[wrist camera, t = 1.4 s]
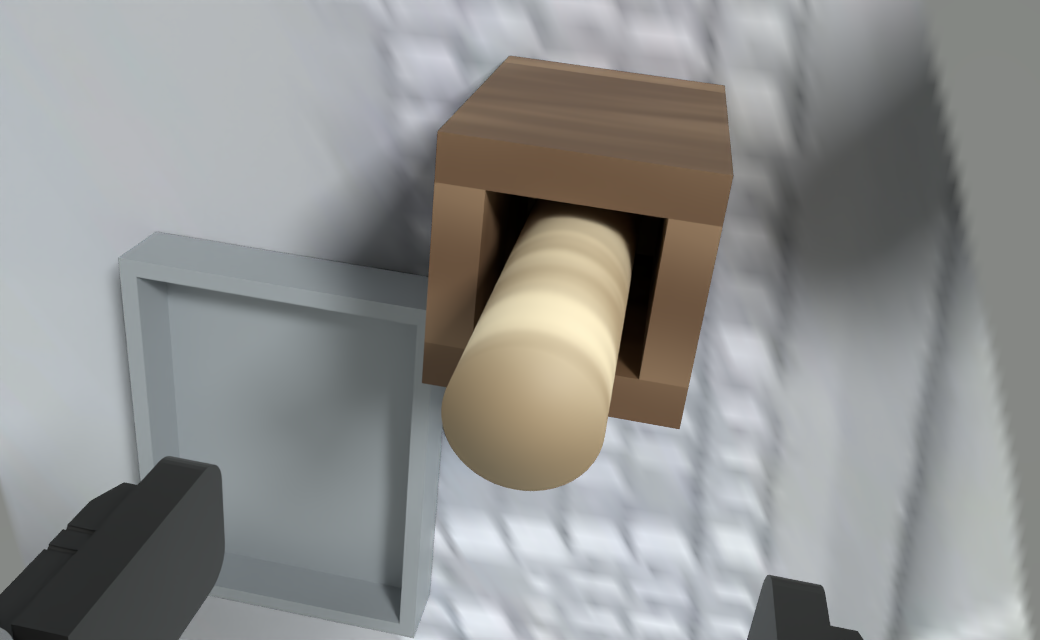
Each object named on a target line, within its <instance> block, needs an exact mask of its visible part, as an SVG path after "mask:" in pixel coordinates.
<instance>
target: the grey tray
mask: <svg viewBox="0 0 1040 640" xmlns="http://www.w3.org/2000/svg"><path fill="white" fill-rule="evenodd" d="M118 261H119V271H120V281H121V292H122V302H123V312H124V322H125V332H126V342H127V352H128V362H129V372H130V382H131V392H132V402H133V412H134V422H135V432H136V442H137V452H138V462H139V473H140V482H141V481H142V480H143V479H144V477H145V476H146V475H147V474H148V473H149V472H150V471H151V470H152V469H153V468H154V466H155V465H156V464H157V463H158V462H159V461H160V460H161V459H162V458H164V457H166V456H173V457H178V458H183V459H189V460H194V461H199V462H204V463H209V464H214V465H217V466H218V467H219V469H220V471H221V475H222V490H223V512H224V533H225V553H224V560H223V564H222V568H221V571H220V574H219V577H218V579H217V581H216V583H215V585H214V587H213V589H212V590H211V592H210V593H209V596H214V597H218V598H223V599H228V600H233V601H238V602H242V603H247V604H252V605H257V606H262V607H266V608H271V609H276V610H281V611H286V612H290V613H295V614H300V615H305V616H310V617H314V618H319V619H324V620H329V621H334V622H338V623H343V624H348V625H353V626H358V627H362V628H367V629H372V630H377V631H382V632H386V633H391V634H396V635H401V636H406V637H410V638H414V636H415V633H416V631H417V628H418V625H419V622H420V620H421V617H422V614H423V612H424V609H425V606H426V603H427V601H428V598H429V595H430V586H431V573H432V560H433V547H434V534H435V521H436V508H437V495H438V481H439V468H440V455H441V442H442V429H443V425H442V418H441V407H442V400H443V396H444V393H445V390H446V387H441V386H435V385H429V384H424V383H422V371H423V355H424V339H425V323H426V308H427V292H428V277H425V276H419V275H413V274H407V273H401V272H395V271H389V270H383V269H377V268H371V267H365V266H359V265H353V264H347V263H341V262H335V261H329V260H323V259H317V258H311V257H305V256H299V255H293V254H287V253H281V252H275V251H269V250H263V249H257V248H251V247H245V246H239V245H233V244H227V243H221V242H215V241H209V240H203V239H197V238H191V237H185V236H179V235H173V234H167V233H161V232H155V233H153V234H152V235H150V236H149V237H148V238H146V239H145V240H143V241H142V242H140V243H139V244H137V245H136V246H135V247H133V248H132V249H130V250H129V251H127V252H126V253H124V254H123V255H122V256H120V257H119V258H118Z"/></svg>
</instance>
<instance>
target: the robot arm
mask: <svg viewBox="0 0 1040 640" xmlns="http://www.w3.org/2000/svg"><path fill="white" fill-rule="evenodd" d="M224 553H225V533H224V512H223V490H222V475H221V471H220V469H219V467H218V466H217V465H214V464H209V463H204V462H199V461H194V460H189V459H183V458H178V457H173V456H166V457H164V458H162V459H161V460H160V461H159V462H158V463H157V464H156V465H155V466H154V468H153V469H152V470H151V471H150V472H149V473H148V474H147V475H146V476H145V477H144V479H143V480H142V481H141V482H140V483H139V484H138V485H134V484H129V483H122V484H120V485H118V486H117V487H115V488H113V489H111V490H109V491H107V492H106V493H104V494H102V495H100V496H98V497H97V498H95V499H93V500H91V501H90V502H89V503H88V504H87V505H86V506H85V507H84V508H83V509H82V510H81V511H80V512H79V513H78V514H77V515H76V516H75V518H74V519H73V520H72V521H71V522H70V523H69V524H68V526H67V529H66V530H62V531H61V532H60V533H59V534H58V535H57V536H56V537H55V538H54V539H53V540H52V541H51V542H50V543H49V547H48V549H47V550H45V549H44V550H43V551H42V552H41V553H40V554H39V555H38V556H37V557H36V558H35V559H34V560H33V561H32V562H31V563H30V564H29V565H28V566H27V567H26V568H25V569H24V571H23V572H22V573H21V574H20V575H19V576H18V577H17V578H16V579H15V580H14V581H13V582H12V583H11V584H10V585H9V586H8V587H7V588H6V589H5V590H4V591H3V592H2V593H1V594H0V640H178V639H179V638H180V636H181V635H182V633H183V632H184V630H185V629H186V627H187V626H188V624H189V623H190V621H191V620H192V618H193V617H194V615H195V614H196V613H197V611H198V610H199V608H200V607H201V605H202V604H203V602H204V601H205V599H206V598H207V596H208V595H209V593H210V592H211V590H212V589H213V587H214V585H215V583H216V581H217V579H218V577H219V574H220V571H221V568H222V564H223V560H224ZM747 640H863V638H862V637H861V635H860V634H859V632H858V631H854V630H849V629H844V628H839V627H834V626H830V621H829V615H828V608H827V602H826V596H825V591H824V588H823V587H822V586H821V585H818V584H813V583H808V582H803V581H798V580H793V579H788V578H782V577H777V576H772V575H767V576H766V578H765V580H764V583H763V586H762V589H761V592H760V596H759V599H758V603H757V606H756V610H755V614H754V617H753V621H752V624H751V628H750V631H749V635H748V638H747Z"/></svg>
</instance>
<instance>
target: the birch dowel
mask: <svg viewBox="0 0 1040 640" xmlns="http://www.w3.org/2000/svg"><path fill="white" fill-rule="evenodd" d="M641 216H642V214H636V213H629V212H623V211H616V210H610V209H604V208H597V207H591V206H584V205H578V204H571V203H565V202H559V201H552V200H546V199H539V198H537V200H536V202H535V204H534V206H533V208H532V210H531V212H530V214H529V216H528V219H527V221H526V223H525V225H524V227H523V229H522V231H521V233H520V235H519V237H518V239H517V242H516V244H515V246H514V248H513V250H512V252H511V254H510V256H509V258H508V260H507V262H506V265H505V267H504V269H503V271H502V273H501V275H500V277H499V279H498V281H497V283H496V285H495V288H494V290H493V292H492V294H491V296H490V298H489V300H488V302H487V304H486V306H485V308H484V311H483V313H482V315H481V317H480V319H479V321H478V323H477V325H476V327H475V329H474V331H473V334H472V336H471V338H470V340H469V342H468V344H467V346H466V348H465V350H464V352H463V354H462V357H461V359H460V361H459V363H458V365H457V367H456V369H455V371H454V373H453V375H452V377H451V379H450V382H449V384H448V386H447V388H446V390H445V393H444V396H443V400H442V407H441V418H442V425H443V429H444V432H445V435H446V438H447V440H448V442H449V444H450V446H451V447H452V449H453V451H454V452H455V453H456V455H457V456H458V457H459V458H460V460H461V461H462V462H463V463H464V464H465V465H466V466H467V467H469V468H470V469H471V470H472V471H474V472H475V473H476V474H478V475H479V476H481V477H483V478H484V479H486V480H488V481H490V482H492V483H495V484H497V485H500V486H503V487H507V488H511V489H516V490H523V491H540V490H548V489H552V488H556V487H559V486H562V485H565V484H567V483H569V482H571V481H573V480H575V479H576V478H578V477H579V476H581V475H582V474H583V473H584V472H585V471H587V470H588V469H589V467H590V466H591V465H592V464H593V463H594V461H595V460H596V458H597V456H598V455H599V453H600V450H601V448H602V445H603V441H604V437H605V431H606V425H607V419H608V413H609V407H610V401H611V395H612V389H613V383H614V377H615V371H616V365H617V359H618V354H619V348H620V342H621V336H622V330H623V324H624V318H625V312H626V306H627V300H628V294H629V288H630V282H631V276H632V270H633V264H634V258H635V252H636V246H637V240H638V234H639V228H640V222H641Z"/></svg>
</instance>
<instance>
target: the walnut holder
mask: <svg viewBox="0 0 1040 640" xmlns="http://www.w3.org/2000/svg"><path fill="white" fill-rule="evenodd" d="M732 180H733V166H732V156H731V146H730V135H729V125H728V115H727V105H726V94H725V86H723V85H716V84H709V83H702V82H695V81H687V80H680V79H673V78H666V77H659V76H652V75H644V74H637V73H630V72H623V71H616V70H609V69H601V68H594V67H587V66H580V65H573V64H566V63H559V62H551V61H544V60H537V59H530V58H523V57H516V56H509V57H508V58H507V59H506V60H505V61H504V62H503V63H502V64H501V65H500V66H499V67H498V68H497V69H496V70H495V72H494V73H493V74H492V75H491V76H490V77H489V78H488V79H487V80H486V81H485V82H484V83H483V84H482V85H481V86H480V87H479V88H478V89H477V90H476V92H475V93H474V94H473V95H472V96H471V97H470V98H469V99H468V100H467V101H466V102H465V103H464V104H463V105H462V106H461V107H460V108H459V109H458V110H457V111H456V113H455V114H454V115H453V116H452V117H451V118H450V119H449V120H448V121H447V122H446V123H445V124H444V125H443V126H442V127H441V128H440V129H439V130H438V134H437V149H436V165H435V181H434V197H433V213H432V229H431V244H430V260H429V276H428V292H427V308H426V323H425V339H424V355H423V371H422V383H424V384H429V385H435V386H441V387H446V388H447V386H448V384H449V382H450V379H451V377H452V375H453V373H454V371H455V369H456V367H457V365H458V363H459V361H460V359H461V357H462V354H463V352H464V350H465V348H466V346H467V344H468V342H469V340H470V338H471V336H472V334H473V331H474V329H475V327H476V325H477V323H478V321H479V319H480V317H481V315H482V313H483V311H484V308H485V306H486V304H487V302H488V300H489V298H490V296H491V294H492V292H493V290H494V288H495V285H496V283H497V281H498V279H499V277H500V275H501V273H502V271H503V269H504V267H505V265H506V262H507V260H508V258H509V256H510V254H511V252H512V250H513V248H514V246H515V244H516V242H517V239H518V237H519V235H520V233H521V231H522V229H523V227H524V225H525V223H526V221H527V219H528V216H529V214H530V212H531V210H532V208H533V206H534V204H535V202H536V200H537V198H539V199H546V200H552V201H559V202H565V203H571V204H578V205H584V206H591V207H597V208H604V209H610V210H616V211H623V212H629V213H636V214H642V216H641V222H640V228H639V234H638V240H637V246H636V252H635V258H634V264H633V270H632V276H631V282H630V288H629V294H628V300H627V306H626V312H625V318H624V324H623V330H622V336H621V342H620V348H619V354H618V359H617V365H616V371H615V377H614V383H613V389H612V395H611V401H610V407H609V413H608V417H614V418H620V419H625V420H631V421H636V422H642V423H648V424H653V425H659V426H664V427H670V428H675V429H680V424H681V420H682V415H683V410H684V405H685V401H686V396H687V391H688V387H689V382H690V377H691V372H692V368H693V363H694V358H695V354H696V349H697V344H698V340H699V335H700V330H701V325H702V321H703V316H704V311H705V307H706V302H707V297H708V293H709V288H710V283H711V278H712V274H713V269H714V264H715V260H716V255H717V250H718V246H719V241H720V236H721V231H722V227H723V222H724V217H725V213H726V208H727V203H728V199H729V194H730V189H731V184H732Z"/></svg>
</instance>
